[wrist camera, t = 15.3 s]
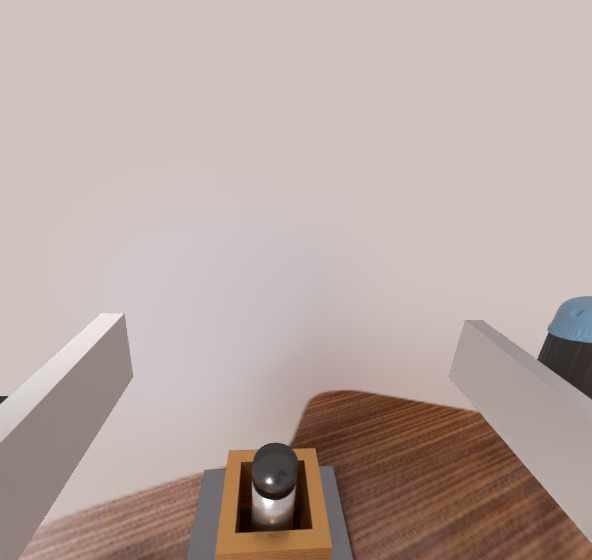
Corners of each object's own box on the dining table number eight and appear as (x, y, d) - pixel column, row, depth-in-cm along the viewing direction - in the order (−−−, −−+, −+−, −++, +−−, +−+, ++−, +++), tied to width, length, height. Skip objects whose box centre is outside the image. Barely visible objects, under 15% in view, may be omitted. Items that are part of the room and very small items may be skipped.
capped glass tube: (288, 525, 33) (296, 442, 29) (291, 570, 30) (300, 482, 26) (251, 527, 33) (253, 443, 29) (249, 573, 29) (251, 484, 25)
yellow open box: (331, 471, 40) (338, 423, 37) (370, 655, 25) (387, 598, 22) (204, 475, 38) (202, 425, 35) (164, 676, 23) (155, 617, 20)
